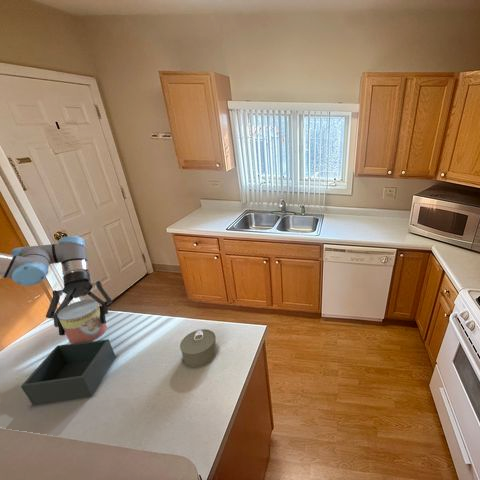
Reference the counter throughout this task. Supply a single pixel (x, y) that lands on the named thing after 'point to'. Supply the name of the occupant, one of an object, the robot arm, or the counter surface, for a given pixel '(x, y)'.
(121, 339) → the counter surface
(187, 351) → the can
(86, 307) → the canned food
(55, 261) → the robot arm
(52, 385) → the open dark gray bin
